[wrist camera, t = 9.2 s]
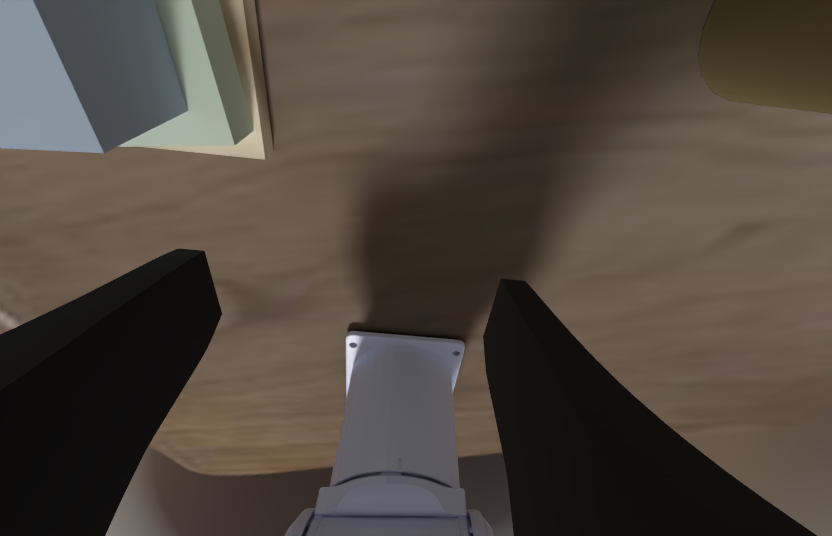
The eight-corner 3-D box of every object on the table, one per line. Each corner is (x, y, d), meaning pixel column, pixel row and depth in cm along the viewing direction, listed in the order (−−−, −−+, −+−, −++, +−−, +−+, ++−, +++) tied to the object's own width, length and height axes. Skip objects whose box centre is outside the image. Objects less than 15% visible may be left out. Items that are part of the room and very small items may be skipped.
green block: (253, 130, 16) (234, 145, 14) (95, 131, 16) (59, 146, 15) (194, -92, 12) (159, -106, 10) (-17, -88, 12) (-85, -101, 10)
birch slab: (279, 145, 18) (265, 159, 17) (91, 125, 18) (59, 138, 16) (249, -109, 13) (225, -123, 12) (-18, -145, 13) (-81, -165, 11)
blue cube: (187, 110, 14) (103, 152, 10) (65, 104, 14) (-64, 144, 10) (139, -49, 11) (1, -69, 7) (-14, -57, 11) (-229, -82, 7)
